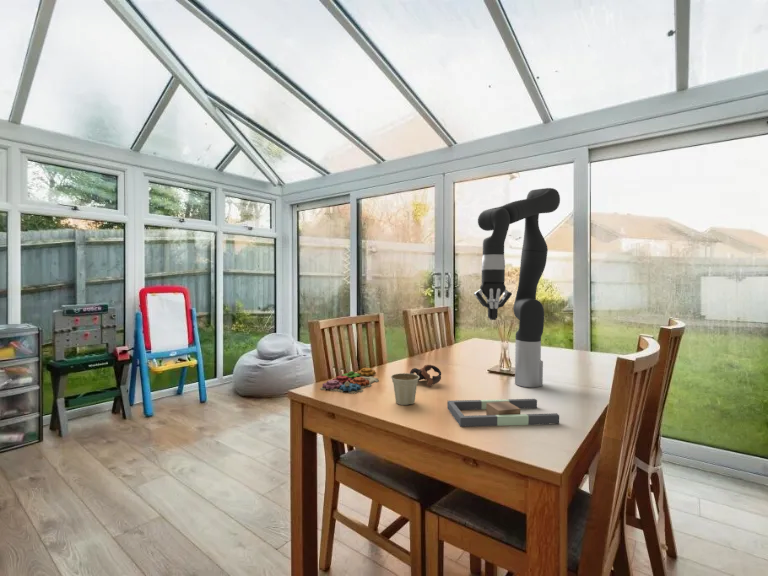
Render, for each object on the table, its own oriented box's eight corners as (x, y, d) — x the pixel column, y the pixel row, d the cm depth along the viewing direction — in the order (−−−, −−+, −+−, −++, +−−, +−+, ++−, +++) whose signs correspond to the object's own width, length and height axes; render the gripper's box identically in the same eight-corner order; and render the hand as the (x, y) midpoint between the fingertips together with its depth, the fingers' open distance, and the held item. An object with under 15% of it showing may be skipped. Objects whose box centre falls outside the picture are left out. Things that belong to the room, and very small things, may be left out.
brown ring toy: (435, 380, 160) (442, 365, 156) (437, 397, 151) (444, 381, 148) (406, 373, 159) (413, 358, 155) (407, 390, 150) (413, 374, 146)
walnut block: (507, 414, 121) (507, 401, 121) (520, 422, 114) (520, 408, 114) (486, 416, 119) (486, 402, 119) (498, 424, 112) (498, 410, 112)
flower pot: (389, 398, 135) (389, 373, 135) (416, 397, 136) (416, 372, 135) (392, 407, 126) (392, 380, 125) (421, 406, 126) (421, 379, 126)
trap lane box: (534, 406, 127) (534, 398, 127) (559, 423, 112) (559, 415, 112) (447, 408, 125) (447, 400, 125) (460, 426, 110) (460, 417, 110)
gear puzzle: (355, 371, 174) (355, 362, 174) (389, 375, 168) (390, 365, 168) (317, 390, 145) (317, 379, 145) (357, 396, 139) (357, 384, 139)
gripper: (507, 268, 138) (507, 318, 139) (470, 268, 137) (470, 318, 137) (516, 268, 130) (516, 320, 131) (477, 268, 129) (477, 321, 130)
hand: (492, 319), depth 134 cm, fingers closed
